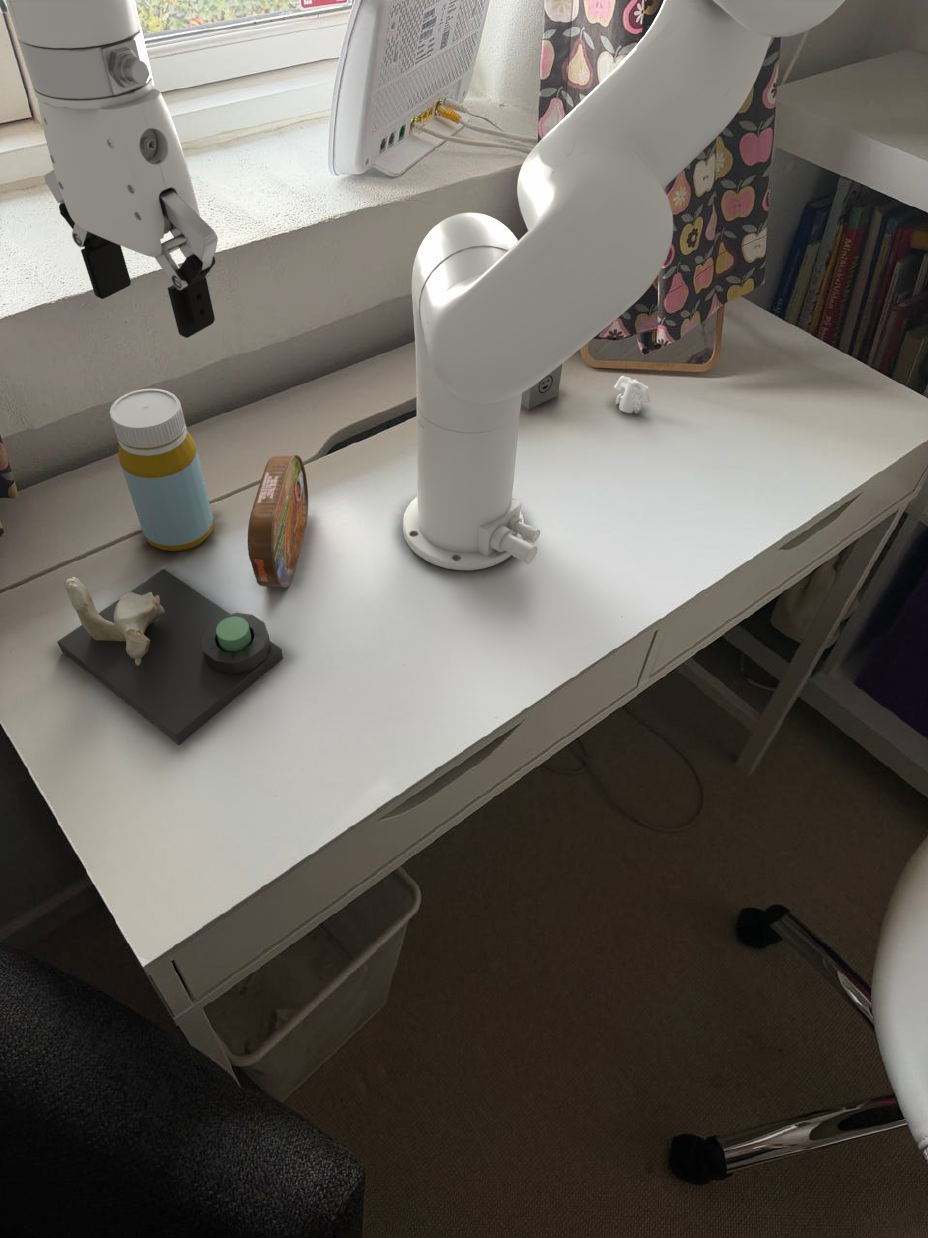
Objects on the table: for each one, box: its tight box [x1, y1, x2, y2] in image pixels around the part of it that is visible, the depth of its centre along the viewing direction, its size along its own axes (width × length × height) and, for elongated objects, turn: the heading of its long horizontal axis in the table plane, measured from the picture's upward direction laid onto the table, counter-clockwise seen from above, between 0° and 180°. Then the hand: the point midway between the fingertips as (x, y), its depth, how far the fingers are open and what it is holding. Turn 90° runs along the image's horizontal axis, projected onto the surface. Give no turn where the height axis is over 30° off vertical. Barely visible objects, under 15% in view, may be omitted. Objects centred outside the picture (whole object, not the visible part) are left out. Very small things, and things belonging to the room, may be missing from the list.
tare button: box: [216, 617, 251, 652], centre depth 77 cm, size 3×3×2 cm
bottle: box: [109, 388, 215, 552], centre depth 85 cm, size 7×7×15 cm
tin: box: [247, 454, 309, 589], centre depth 86 cm, size 15×3×8 cm, turn 177°
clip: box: [613, 375, 651, 414], centre depth 106 cm, size 5×2×4 cm, turn 50°
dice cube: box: [521, 363, 563, 410], centre depth 107 cm, size 5×5×5 cm
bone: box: [64, 576, 165, 666], centre depth 75 cm, size 9×6×10 cm
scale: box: [56, 568, 284, 745], centre depth 78 cm, size 16×12×3 cm
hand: (154, 309), depth 70 cm, fingers open, 9 cm apart
